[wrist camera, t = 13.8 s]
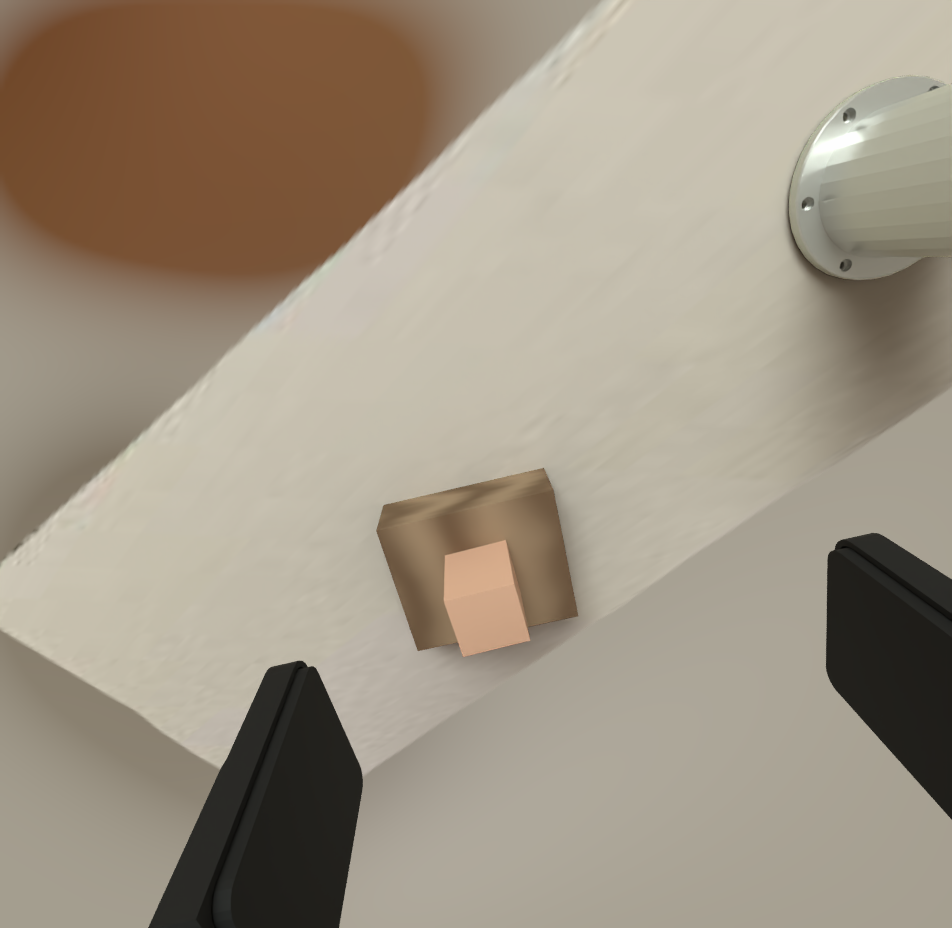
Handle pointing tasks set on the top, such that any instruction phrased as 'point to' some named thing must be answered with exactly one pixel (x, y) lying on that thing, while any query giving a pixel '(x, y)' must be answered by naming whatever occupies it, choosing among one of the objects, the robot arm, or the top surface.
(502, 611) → the peach block
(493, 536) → the walnut plinth
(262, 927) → the robot arm
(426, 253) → the top surface
